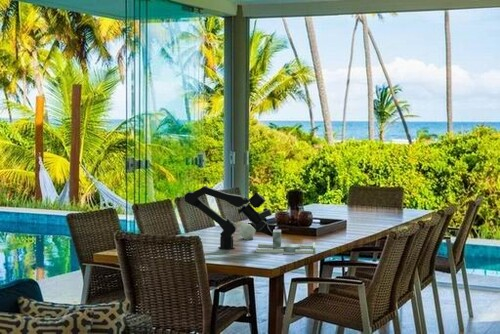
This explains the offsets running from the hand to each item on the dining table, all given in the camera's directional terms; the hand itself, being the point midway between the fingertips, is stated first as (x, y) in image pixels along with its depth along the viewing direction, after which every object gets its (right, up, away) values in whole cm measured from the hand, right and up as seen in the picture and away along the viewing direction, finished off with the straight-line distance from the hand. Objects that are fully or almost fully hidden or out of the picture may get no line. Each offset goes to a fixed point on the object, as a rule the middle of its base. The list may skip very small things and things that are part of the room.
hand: (272, 235), depth 454 cm
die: (-13, -5, +39) cm, 42 cm away
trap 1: (+8, -8, -12) cm, 17 cm away
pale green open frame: (+7, -7, 0) cm, 10 cm away
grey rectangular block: (+7, -7, 0) cm, 10 cm away
